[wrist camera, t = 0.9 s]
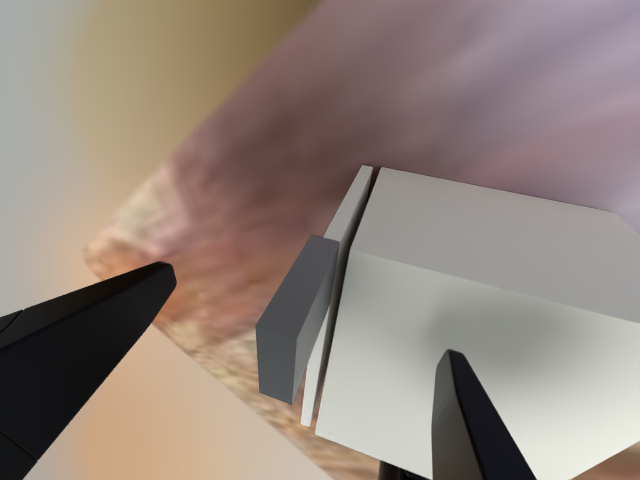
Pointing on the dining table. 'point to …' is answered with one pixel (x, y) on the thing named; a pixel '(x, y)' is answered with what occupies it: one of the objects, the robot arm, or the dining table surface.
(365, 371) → the carton
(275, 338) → the front flap
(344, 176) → the dining table surface
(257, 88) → the dining table surface
